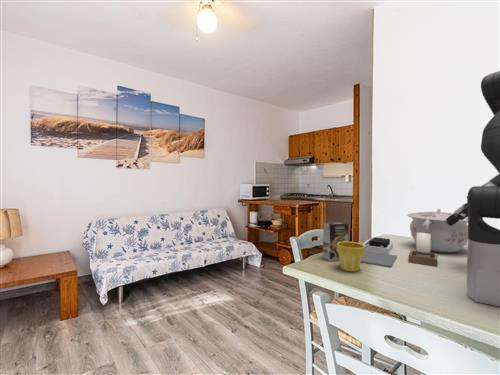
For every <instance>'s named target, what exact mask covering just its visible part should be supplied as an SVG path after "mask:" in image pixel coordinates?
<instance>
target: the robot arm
mask: <svg viewBox="0 0 500 375" xmlns="http://www.w3.org/2000/svg"><path fill="white" fill-rule="evenodd" d="M480 89H481V91H480V92H481V94H482V96H483V99H484V100H485V102H486V104H487V105H488V107H489V109H490V111H491V112H492V114H493V116H492V118H491V119H490V120H489V121H488V122H487V123H486V125H485V127H484V128H483V130H482V135H481V144H480V150H481V153H482V154H483V156H484V157H485V158H486V159H487V160H488V162H489V163H490V164H491V165H492V166H493V167H494V168H495V169H496V171H497V172H498V174H496V175H495V176H493V177H492V178H491V179H490V180H489V181H487V182H485V183H483V184H482V185H480V186H479V185H477V186H475V185H474V186H472V187H470V188H469V190H468V192H467V196H466V201H467V202H466V203H463V204H462V205H461V206H460V207H458V208H457V209H456V210H455V211H453V213H452V215H451V216H449V217H448V218H447V219H446V220H447V224H448V225H449V226H452V225H454V224H455V223H456V222H458V221H459V220H463V219H464V218H466V217H468V223H467V225H468V242H467V252H466V253H467V254H466V256H467V257H466V290H465V291H466V296H467V297H468V298H470V299H471V300H473V301H474V302H477V303H481V304H486V305H491V306H495V307H500V229H499V228H496V227H494V226H492V225H490V224H488V222H486V221H484V218H485V219H486V218H487V219H498V220H500V70H499V71H496V72H495V71H494V72H493V73H490V74H487V75H486V76H484V77H483V78H482V79H481V81H480Z"/></svg>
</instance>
